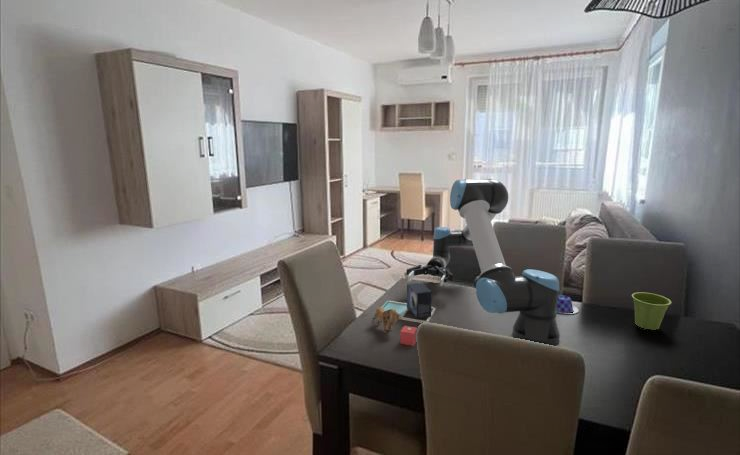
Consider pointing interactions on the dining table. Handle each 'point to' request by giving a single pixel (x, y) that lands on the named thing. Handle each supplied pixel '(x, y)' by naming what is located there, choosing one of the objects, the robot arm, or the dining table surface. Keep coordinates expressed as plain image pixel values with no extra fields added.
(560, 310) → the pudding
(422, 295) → the small box
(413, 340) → the red block
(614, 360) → the dining table surface
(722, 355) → the dining table surface
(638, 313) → the plant pot
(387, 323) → the lion figurine
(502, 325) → the dining table surface
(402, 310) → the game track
